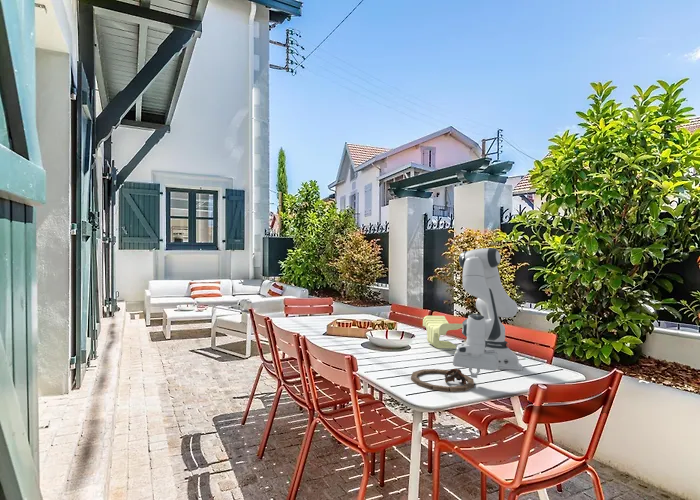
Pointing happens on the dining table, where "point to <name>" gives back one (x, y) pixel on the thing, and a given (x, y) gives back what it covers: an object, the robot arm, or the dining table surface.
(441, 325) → the ribbed pale green clamp
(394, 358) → the dining table surface
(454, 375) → the dark brown arched piece
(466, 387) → the brown flat ring
